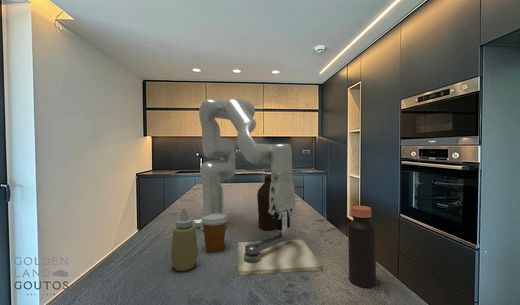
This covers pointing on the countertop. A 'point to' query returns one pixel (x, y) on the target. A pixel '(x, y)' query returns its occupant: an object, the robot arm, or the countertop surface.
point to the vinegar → (362, 248)
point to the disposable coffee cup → (214, 231)
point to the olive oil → (265, 206)
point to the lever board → (278, 259)
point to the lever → (255, 248)
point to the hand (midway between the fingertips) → (282, 227)
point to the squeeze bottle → (184, 244)
